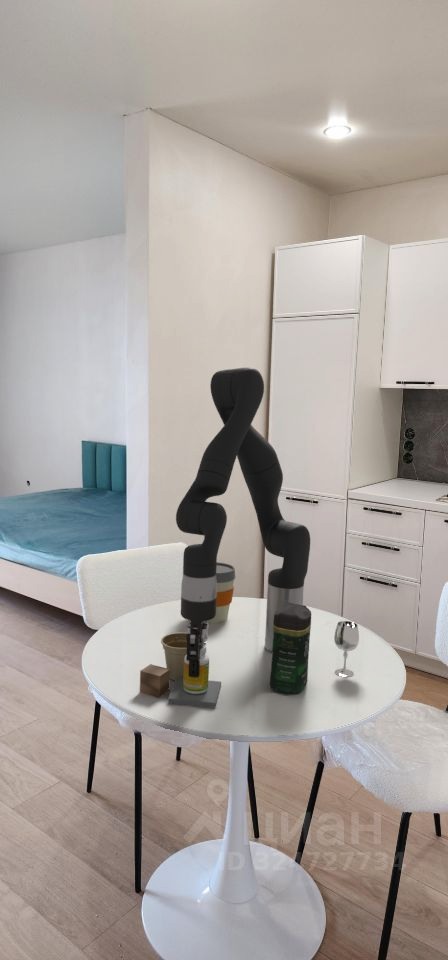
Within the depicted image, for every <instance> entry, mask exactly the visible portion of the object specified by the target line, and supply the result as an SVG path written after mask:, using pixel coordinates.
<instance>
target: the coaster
mask: <svg viewBox="0 0 448 960" xmlns="http://www.w3.org/2000/svg"><path fill="white" fill-rule="evenodd" d="M183 679H184V678H177V679H176V681H175V683H174V685H173V686H172V689H171V692H170V693H169V695H168V698H167V704H168V705H174V706H187V707H197V708H207V709H208V708H209V709H216V707H217V705H218V704H217V703H218V700H219V696H220V692H221V688H222V681H218V680H216V681H215V680H208V690H207V691H206V692H204V693H201V694H191V693H188V692H186V691H185V690H184V689H183Z"/></svg>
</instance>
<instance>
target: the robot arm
mask: <svg viewBox="0 0 448 960" xmlns="http://www.w3.org/2000/svg"><path fill="white" fill-rule="evenodd" d="M264 392H265V382H264V378H263V376H262V374H261V372H260V371H259V370H258V369H256V368H254V367H249V366H248V367H247V366H246V367H239V368H232V369H231V368H229V369H223V370H218V371H216V372H215V373H214V374H213V375H212V376H211V378H210V394H211V399H212V401H213V404H214V407H215V409H216V411H217V414H218V415H219V417H220V419H221V421H222V424H223V427H222V428H221V429H220V430H219V431H218V432H217V434H216V435H215V436H214V438H212V439H211V441H210V443H208V444H207V446H206V448H205V450H204V452H203V454H202V456H201V461H200V463H199V467H198V469H197V473H196V476H195V479H194V480H193V483H192V484H191V485H190V487H189V489H188V491H187V492H186V494H185V495H184V497H183V498H182V499H181V501H180V503H179V505H178V506H177V510H176V513H175V521H176V525H177V528H178V529H179V530H180V532H183V533H184V534H191V535H198V536H203V541H202V543H196V544H195V543H194V544H191V545H188V546H186V547H185V548H184V550H183V559H182V560H183V562H182V564H183V566H182V579H181V588H180V591H181V592H180V616H181V617H182V618H183V619H185V620H188V621H189V625H187V628H186V629H187V630H186V633H187V636H186V638H187V656H186V659H187V661H189V677H196V678H197V677H199V672H200V659H201V657H200V656H201V650H202V649H203V648H204V644H205V645H206V646H207V641H208V636H209V635H208V631H209V630H208V629H209V622H208V620H211V619H213V618H214V617H215V616H216V599H217V580H216V566H217V560H218V553H219V549H220V545H221V541H222V538H223V534H225V533H224V532H225V530H226V526H227V521H228V516H227V512H226V510H225V507H224V506H223V504H220V503H217V502H211V501H210V502H209V501H207V500H208V499H210V498H212V497H220V496H222V495H224V494H225V493H226V492H227V490H228V487H229V483H230V479H231V477H232V473H233V469H234V465H235V462H236V459H237V460H238V461H237V462H238V464H239V467H240V470H241V473H242V476H243V479H244V481H245V484H246V487H247V489H248V491H249V492H248V493H249V495H250V498H251V501H252V504H253V507H254V510H255V511H254V512H255V514H256V517H257V522H258V526H259V532H260V534H261V535H260V536H261V540H262V543H263V545H264V547H265V549H266V550H267V552H268V553H270V554H271V555H274V556H276V557H278V558H279V557H280V558H282V559H283V560H282V566H281V567H280V568H276V569H275V568H274V569H272V570H270V571H269V573H268V575H267V593H266V596H267V597H266V612H265V613H266V617H265V635H264V636H265V637H264V648H265V650H267V651H268V652H270V653H272V648H273V622H274V614H275V613H276V611H277V610H278V609H280V608H281V607H283V606H285V605H287V604H289V603H294V604H299V605H304V592H305V591H304V590H305V588H304V587H305V579H306V576H307V574H308V568H309V558H310V550H311V535H310V531H309V529H308V527H307V526H305V525H304V524H300V523H296V522H292V521H286V520H285V518H284V517H283V515H282V513H281V509H280V506H279V496H280V493H281V490H282V486H283V481H284V474H283V470H282V467H281V464H280V460H279V457H278V455H277V452H276V451H275V449H274V448H273V446H272V444H271V443H270V442H269V441H268V440H267V439H266V438H265V437H264V436H263V435H262V434H261V433H260V432H259V431H258V430H257V429H256V428H255V427H254V426H253V424H252V423H253V421H254V418H255V416H256V415H257V412H258V410H259V408H260V405H261V403H262V400H263V397H264V394H265V393H264ZM199 643H201V644H200V645H199ZM192 651H195V652H196V655H195V654H191V653H192Z"/></svg>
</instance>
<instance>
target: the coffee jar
mask: <svg viewBox="0 0 448 960" xmlns="http://www.w3.org/2000/svg"><path fill="white" fill-rule="evenodd" d="M311 626H312V612H311V609H310V608H309V607H307V605H304V604H303V605H299V604H294V603H289V604H287V605H285V606H283V607H281V608H280V609H278V610H277V611H276V613H275V614H274V622H273V648H272V652H271V664H270V665H271V666H270V675H269V676H270V677H269V688H270V689H271V690H273V691H274V692H277V693H279V694H282V695H284V696H285V695H286V696H288V695H300V694H301V693H302V692H303V691H304V690H305V688H306V687H307V685H308V675H309V674H308V672H309V656H310V655H309V654H310V653H309V651H310V639H311V638H310V637H311V628H312V627H311Z"/></svg>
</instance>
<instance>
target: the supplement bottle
mask: <svg viewBox="0 0 448 960" xmlns="http://www.w3.org/2000/svg"><path fill="white" fill-rule="evenodd" d="M200 644H201V643H199V645H200ZM191 654H195V655H196V652H195V651H192V653H191ZM186 656H187V655H186ZM186 656H185V658H184V679H183V689H184V690H185V691H186V692H188V693H191V694H201V693H204V692H206V691H207V690H208V681H209V674H210V672H209V671H210V656H209V655H208V654H207V644H206V645H205V644H204V648H203V649H202V650H201V656H200V657H201V659H200V672H199V677H197V678H196V677H189V661H187V659H186Z"/></svg>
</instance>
